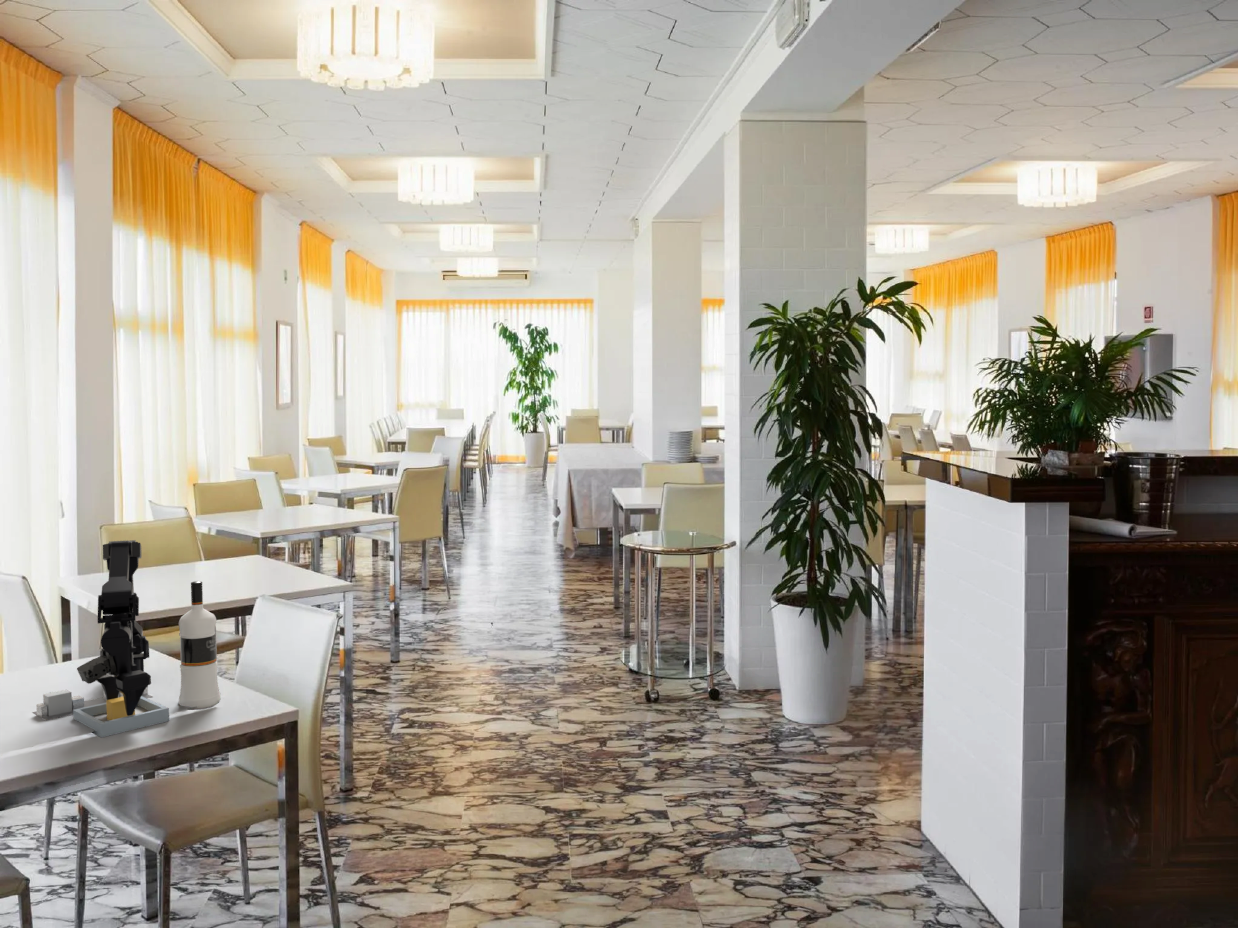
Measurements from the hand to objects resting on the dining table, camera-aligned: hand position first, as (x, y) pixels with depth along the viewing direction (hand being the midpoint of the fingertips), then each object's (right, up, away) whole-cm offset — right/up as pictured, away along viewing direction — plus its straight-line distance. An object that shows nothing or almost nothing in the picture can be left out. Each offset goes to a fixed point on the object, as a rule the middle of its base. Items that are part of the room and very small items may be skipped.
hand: (121, 710), depth 231 cm
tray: (0, -3, 0) cm, 2 cm away
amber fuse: (0, -2, 0) cm, 2 cm away
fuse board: (-11, -2, +10) cm, 15 cm away
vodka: (+13, -2, +13) cm, 18 cm away
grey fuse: (-16, -1, +4) cm, 17 cm away
